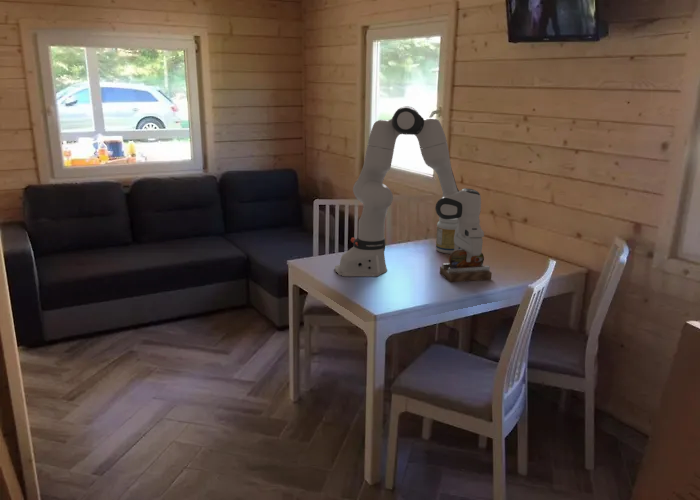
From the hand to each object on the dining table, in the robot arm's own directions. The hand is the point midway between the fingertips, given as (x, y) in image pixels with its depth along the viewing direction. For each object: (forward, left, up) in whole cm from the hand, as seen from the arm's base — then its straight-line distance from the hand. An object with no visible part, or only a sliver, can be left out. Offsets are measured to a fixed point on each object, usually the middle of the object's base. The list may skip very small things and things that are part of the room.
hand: (465, 260), depth 251 cm
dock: (0, 0, -7) cm, 7 cm away
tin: (0, 0, -4) cm, 4 cm away
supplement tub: (+8, +38, -7) cm, 39 cm away
